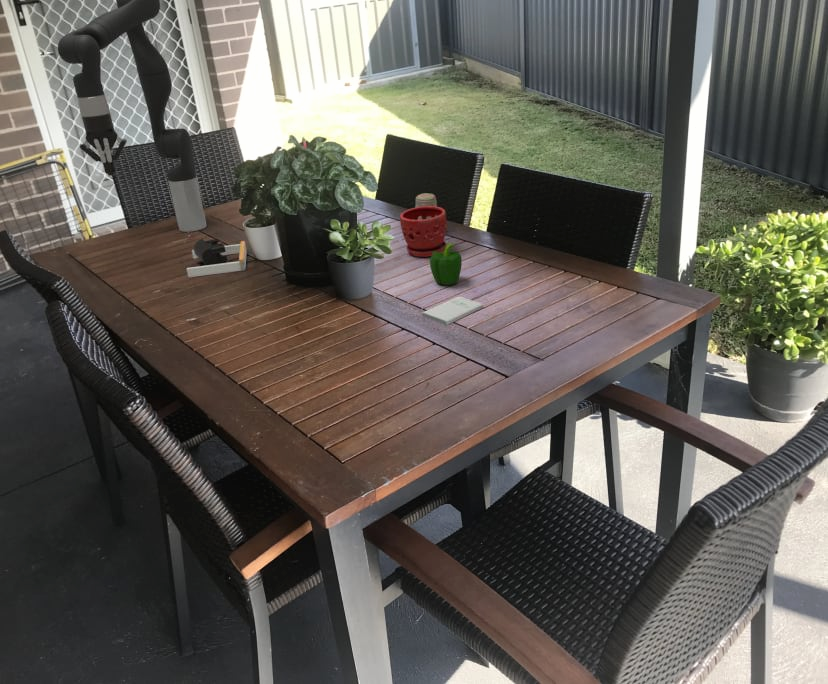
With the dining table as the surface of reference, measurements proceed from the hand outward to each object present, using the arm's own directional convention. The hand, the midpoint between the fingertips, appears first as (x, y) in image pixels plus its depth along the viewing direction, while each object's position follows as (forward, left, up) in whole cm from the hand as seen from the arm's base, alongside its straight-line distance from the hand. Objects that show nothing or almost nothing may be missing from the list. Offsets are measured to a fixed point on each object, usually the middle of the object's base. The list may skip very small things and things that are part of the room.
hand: (111, 174), depth 210 cm
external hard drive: (+68, +84, -28) cm, 111 cm away
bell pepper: (+49, +87, -27) cm, 103 cm away
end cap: (+10, +24, -27) cm, 38 cm away
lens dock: (+11, +26, -27) cm, 39 cm away
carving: (+7, +90, -27) cm, 94 cm away
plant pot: (+24, +86, -27) cm, 93 cm away
